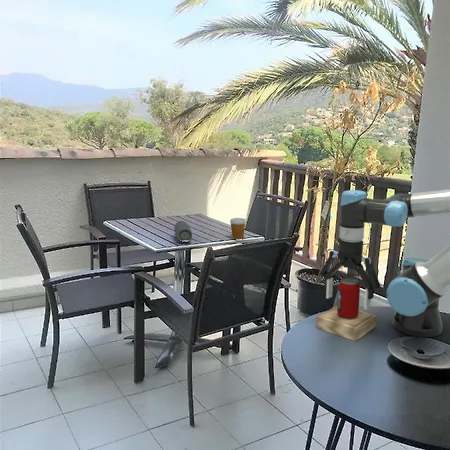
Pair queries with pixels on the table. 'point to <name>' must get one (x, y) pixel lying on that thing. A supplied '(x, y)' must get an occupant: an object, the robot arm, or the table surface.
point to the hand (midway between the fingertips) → (347, 302)
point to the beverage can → (348, 298)
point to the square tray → (346, 324)
